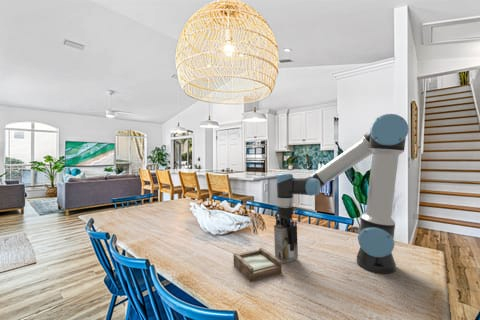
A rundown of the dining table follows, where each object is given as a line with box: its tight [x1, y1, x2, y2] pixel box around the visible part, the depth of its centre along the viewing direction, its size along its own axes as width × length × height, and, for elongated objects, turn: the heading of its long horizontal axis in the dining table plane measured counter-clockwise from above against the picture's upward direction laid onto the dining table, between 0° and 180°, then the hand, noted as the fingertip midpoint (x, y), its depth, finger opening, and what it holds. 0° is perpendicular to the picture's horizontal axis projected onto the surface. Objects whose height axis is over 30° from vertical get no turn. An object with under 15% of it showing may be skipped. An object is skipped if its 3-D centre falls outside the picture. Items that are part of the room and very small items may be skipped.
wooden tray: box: [233, 247, 283, 283], centre depth 102 cm, size 16×15×5 cm
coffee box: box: [273, 224, 299, 264], centre depth 111 cm, size 9×6×16 cm
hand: (286, 254), depth 111 cm, fingers closed on coffee box, 6 cm apart
